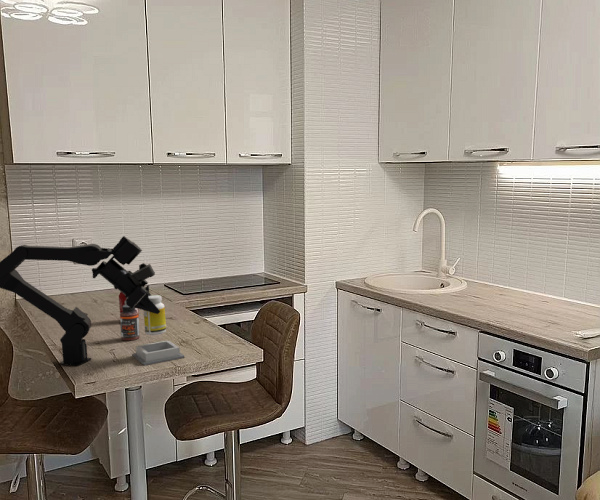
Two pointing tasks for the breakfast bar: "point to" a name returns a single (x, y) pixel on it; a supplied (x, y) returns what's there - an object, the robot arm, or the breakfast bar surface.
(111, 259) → the robot arm
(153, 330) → the pill bottle
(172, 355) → the socket block
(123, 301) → the soda can
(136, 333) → the supplement bottle
